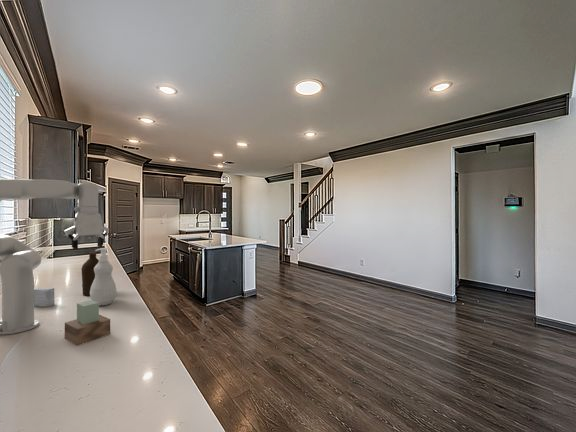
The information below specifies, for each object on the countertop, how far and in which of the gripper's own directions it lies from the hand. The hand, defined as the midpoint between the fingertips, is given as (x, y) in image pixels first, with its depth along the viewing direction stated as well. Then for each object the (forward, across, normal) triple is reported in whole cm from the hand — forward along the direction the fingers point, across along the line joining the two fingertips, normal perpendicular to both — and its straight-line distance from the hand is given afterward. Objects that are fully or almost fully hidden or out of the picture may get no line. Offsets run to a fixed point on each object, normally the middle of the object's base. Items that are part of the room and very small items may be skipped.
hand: (88, 247), depth 122 cm
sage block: (+26, -8, -20) cm, 34 cm away
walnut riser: (+32, -8, -20) cm, 39 cm away
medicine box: (+33, -4, +39) cm, 51 cm away
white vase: (+32, +14, +17) cm, 39 cm away
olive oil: (+32, +19, +41) cm, 56 cm away
